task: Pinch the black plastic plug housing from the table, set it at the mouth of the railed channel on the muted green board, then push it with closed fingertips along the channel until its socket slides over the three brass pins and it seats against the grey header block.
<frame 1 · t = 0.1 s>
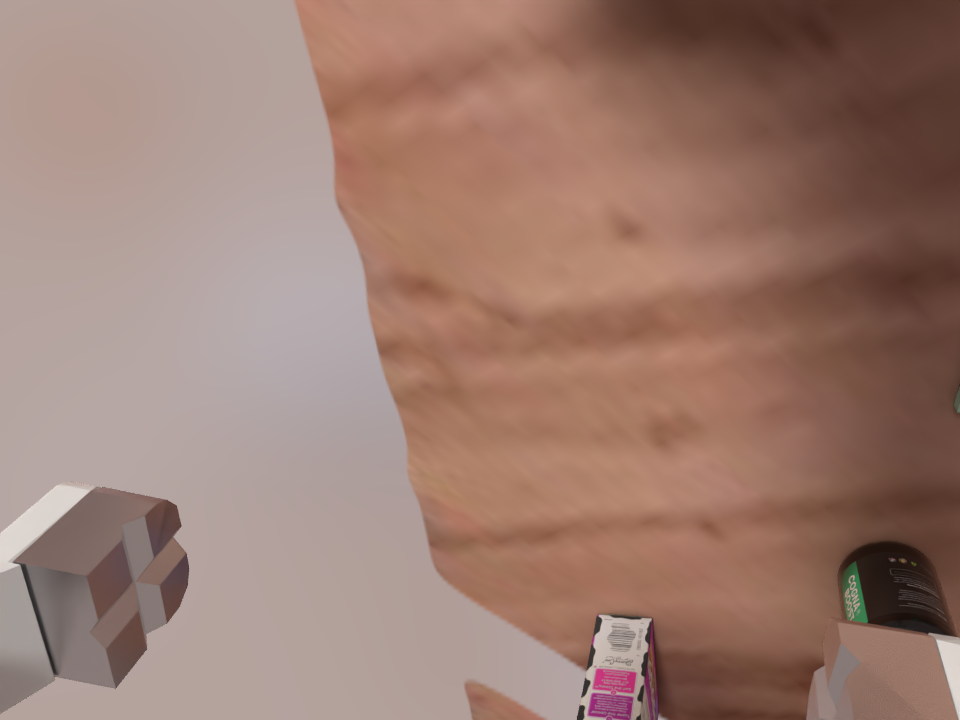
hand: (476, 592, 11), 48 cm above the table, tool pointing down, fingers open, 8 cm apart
candy bar box: (627, 660, 75), on the table
supplement bottle: (884, 573, 65), on the table
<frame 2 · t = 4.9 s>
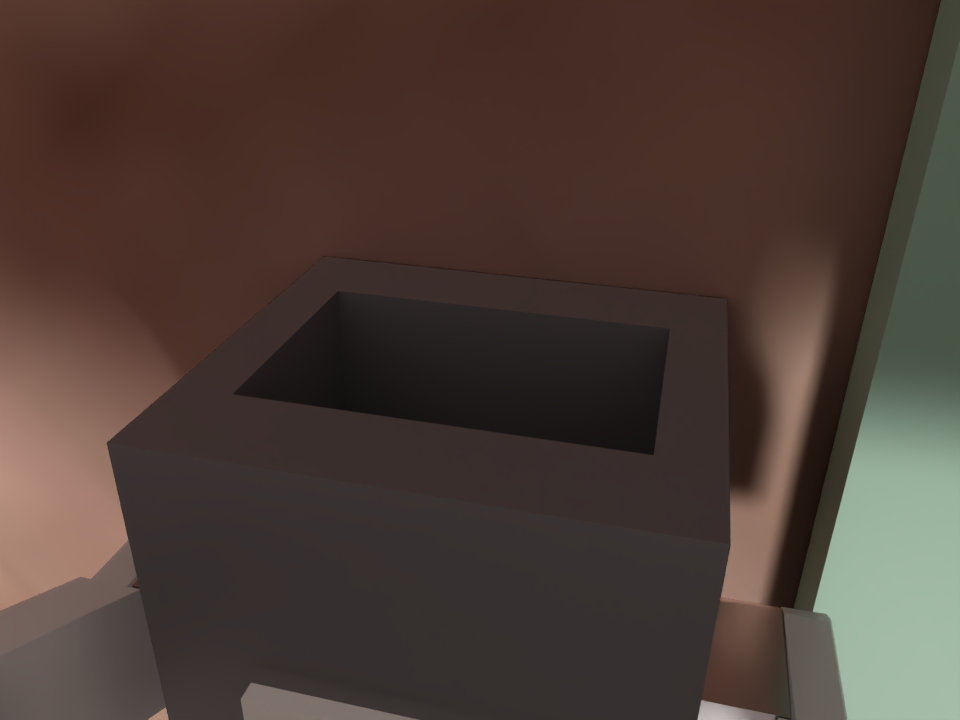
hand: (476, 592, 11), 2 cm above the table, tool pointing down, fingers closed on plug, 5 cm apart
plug: (507, 508, 12), on the table, touching gripper
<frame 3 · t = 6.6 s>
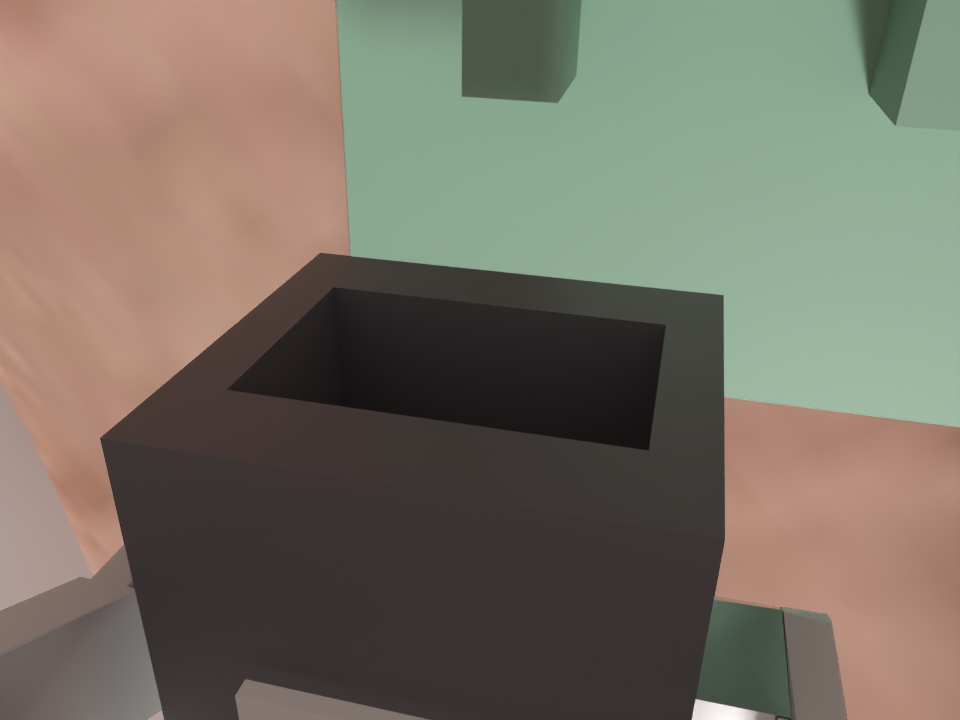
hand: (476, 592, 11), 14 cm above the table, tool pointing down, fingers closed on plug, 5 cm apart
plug: (504, 505, 12), point 12 cm above the table, touching gripper
when the fingers open (3 cm above the table, at t = 8.6 s): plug stays where it is, resting on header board.
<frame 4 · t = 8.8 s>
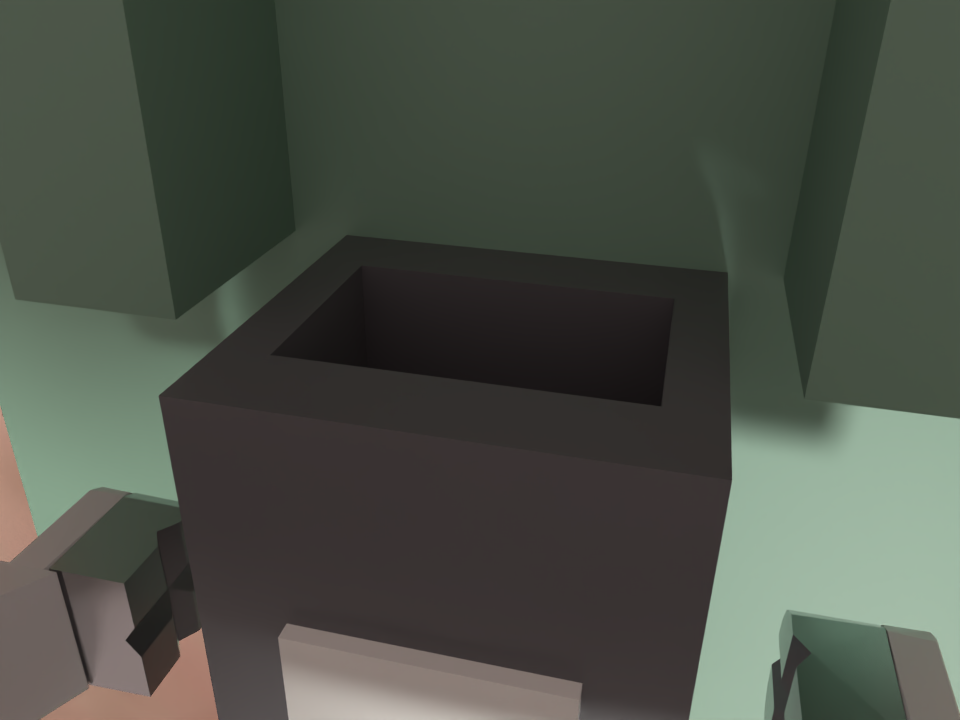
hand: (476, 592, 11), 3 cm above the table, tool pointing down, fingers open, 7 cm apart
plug: (519, 476, 13), point 1 cm above the table, touching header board
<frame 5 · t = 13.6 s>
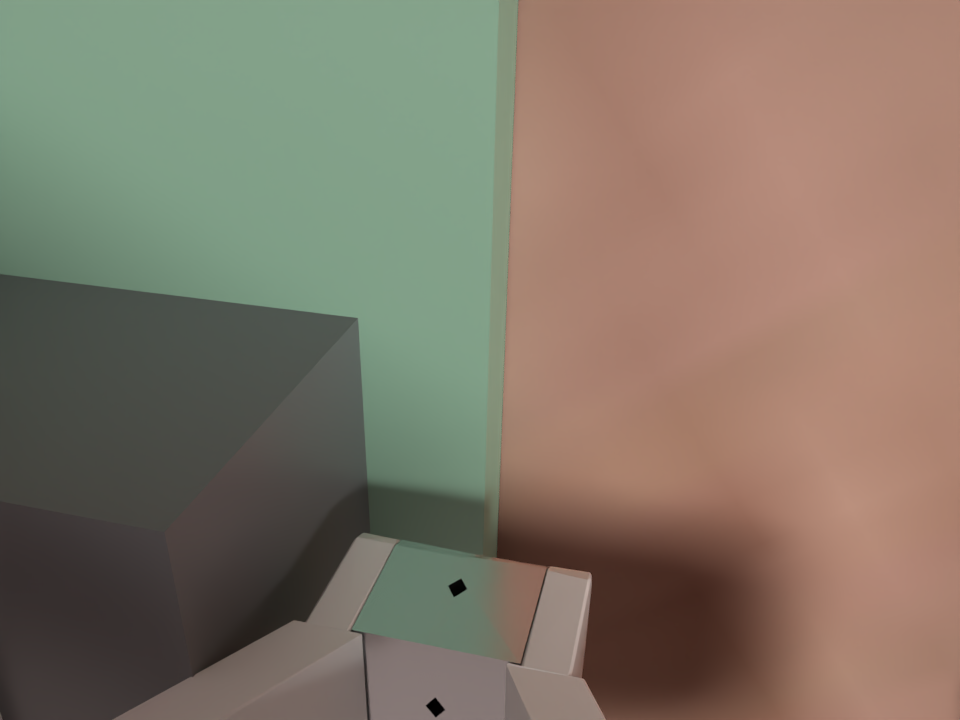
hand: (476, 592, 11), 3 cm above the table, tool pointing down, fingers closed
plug: (150, 440, 13), point 1 cm above the table, touching gripper, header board
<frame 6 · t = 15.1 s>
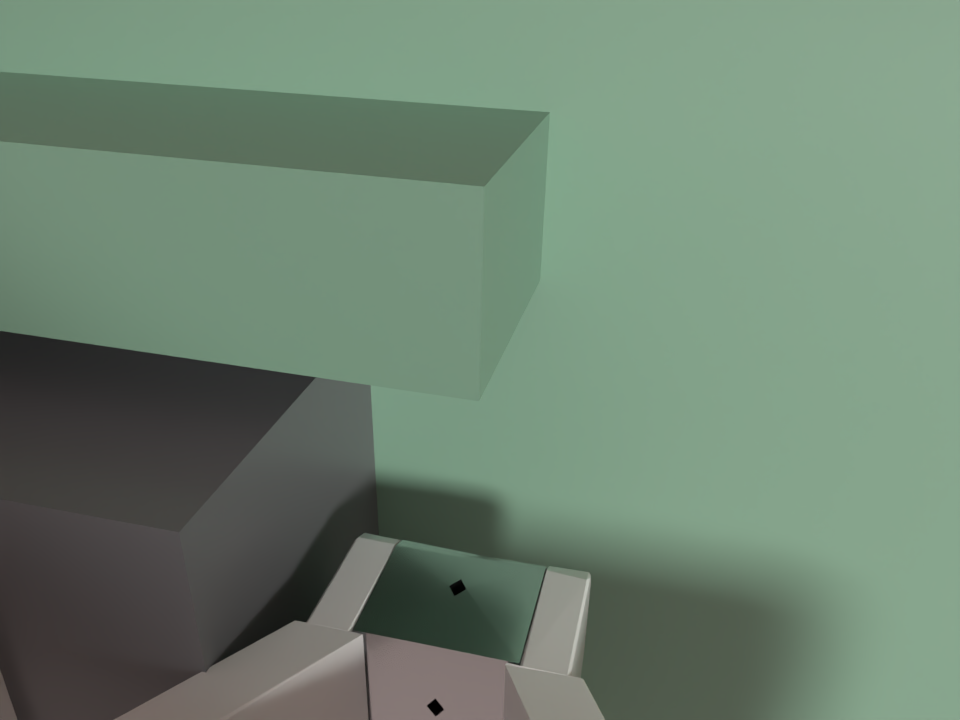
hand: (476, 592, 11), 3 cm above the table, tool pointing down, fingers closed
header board: (179, 397, 14), on the table
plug: (160, 441, 13), point 1 cm above the table, touching gripper, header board
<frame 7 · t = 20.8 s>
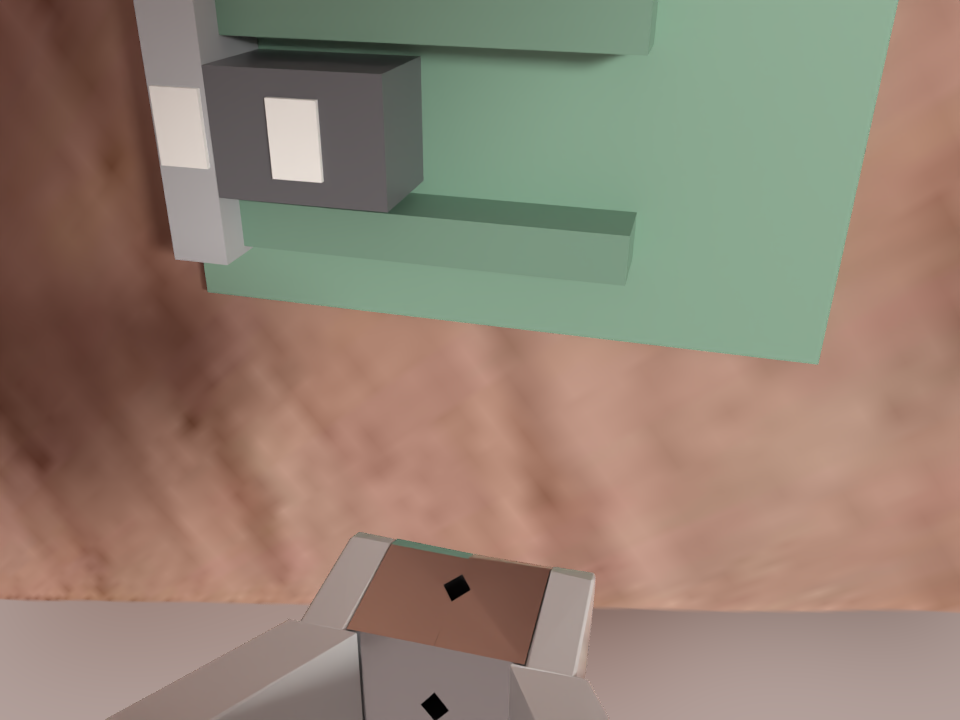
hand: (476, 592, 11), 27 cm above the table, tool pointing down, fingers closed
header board: (499, 116, 35), on the table
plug: (341, 115, 36), point 1 cm above the table, touching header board
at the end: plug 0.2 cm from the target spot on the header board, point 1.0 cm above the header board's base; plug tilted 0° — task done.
